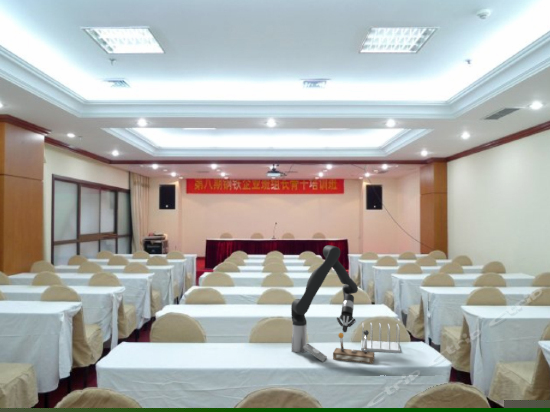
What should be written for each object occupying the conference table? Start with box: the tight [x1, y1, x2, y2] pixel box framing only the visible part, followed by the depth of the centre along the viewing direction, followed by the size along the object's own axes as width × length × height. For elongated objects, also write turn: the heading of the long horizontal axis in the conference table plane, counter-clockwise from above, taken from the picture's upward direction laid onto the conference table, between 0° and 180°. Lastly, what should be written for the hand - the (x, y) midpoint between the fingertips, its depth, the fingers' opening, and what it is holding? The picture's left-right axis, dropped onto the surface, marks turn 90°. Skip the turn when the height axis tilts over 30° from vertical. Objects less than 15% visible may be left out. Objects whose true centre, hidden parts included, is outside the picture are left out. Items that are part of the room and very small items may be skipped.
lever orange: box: [337, 332, 345, 351], centre depth 253 cm, size 3×3×14 cm
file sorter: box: [360, 321, 401, 354], centre depth 276 cm, size 25×17×16 cm
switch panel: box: [332, 347, 375, 365], centre depth 253 cm, size 24×10×5 cm, turn 71°
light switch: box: [303, 342, 328, 363], centre depth 254 cm, size 8×6×14 cm
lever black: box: [363, 329, 370, 353], centre depth 254 cm, size 3×3×14 cm
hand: (344, 331), depth 263 cm, fingers closed
